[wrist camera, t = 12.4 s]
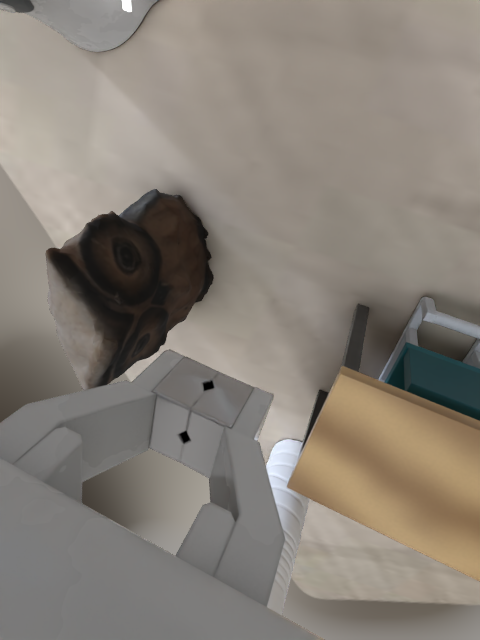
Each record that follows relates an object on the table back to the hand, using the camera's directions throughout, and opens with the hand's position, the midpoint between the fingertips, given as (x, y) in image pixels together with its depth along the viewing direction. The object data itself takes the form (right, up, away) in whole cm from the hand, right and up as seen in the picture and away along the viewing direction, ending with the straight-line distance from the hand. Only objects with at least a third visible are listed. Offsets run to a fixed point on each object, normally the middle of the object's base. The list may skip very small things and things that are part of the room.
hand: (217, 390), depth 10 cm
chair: (+21, -3, +30) cm, 36 cm away
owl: (-8, +10, +35) cm, 38 cm away
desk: (+20, -5, +31) cm, 37 cm away
